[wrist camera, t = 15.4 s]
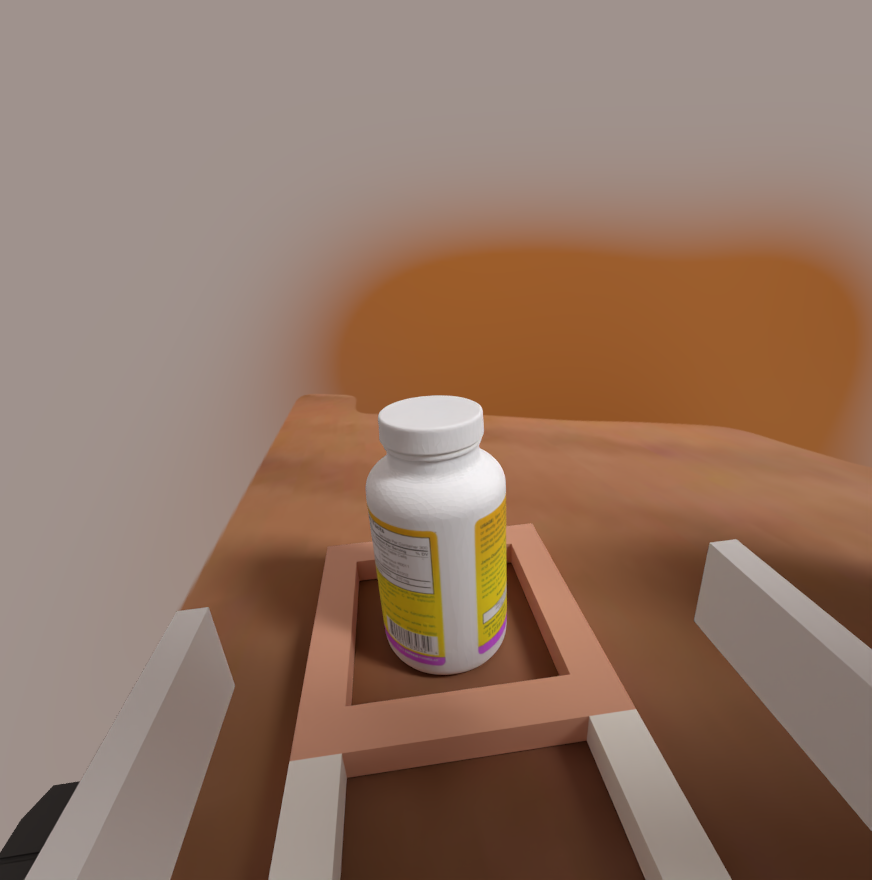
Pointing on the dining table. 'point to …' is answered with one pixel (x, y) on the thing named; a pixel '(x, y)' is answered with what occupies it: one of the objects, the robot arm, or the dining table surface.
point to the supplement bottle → (439, 535)
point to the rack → (475, 726)
